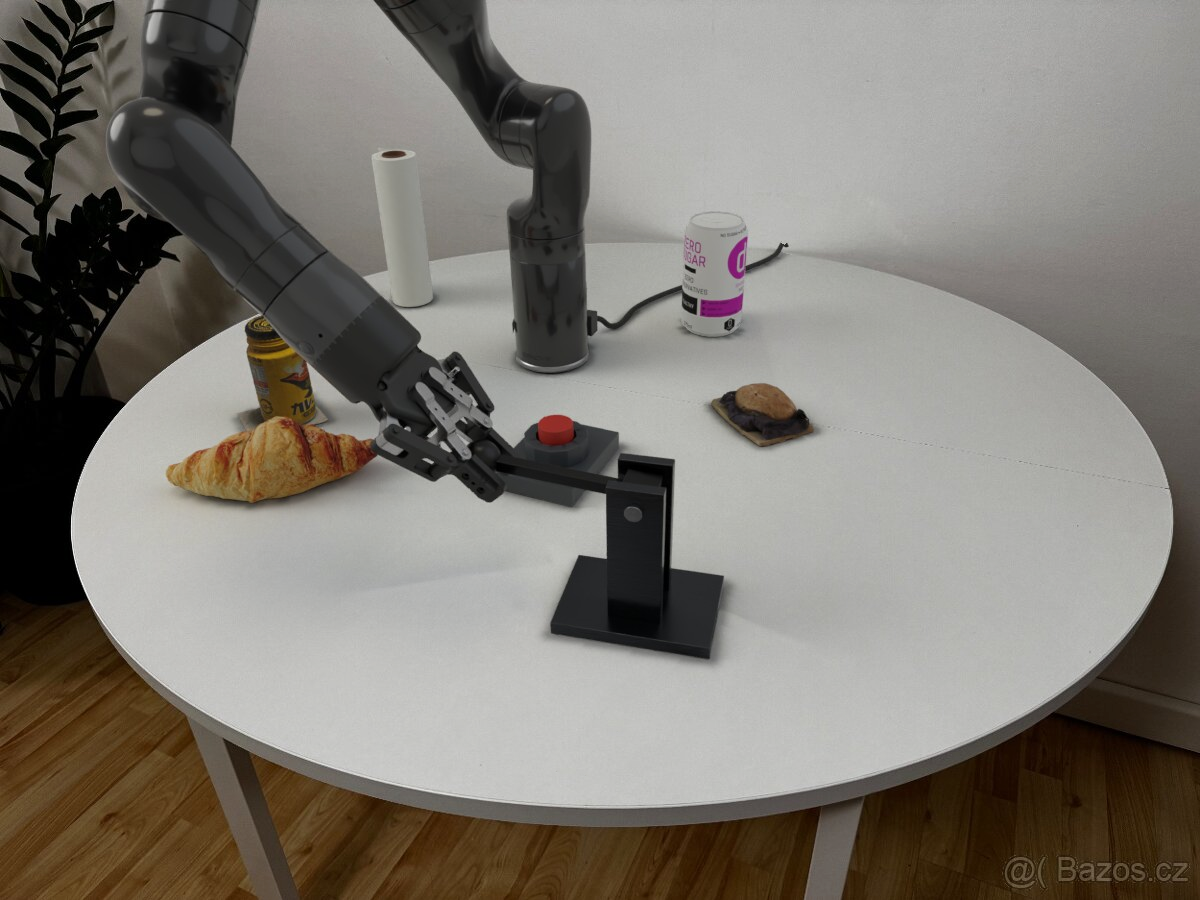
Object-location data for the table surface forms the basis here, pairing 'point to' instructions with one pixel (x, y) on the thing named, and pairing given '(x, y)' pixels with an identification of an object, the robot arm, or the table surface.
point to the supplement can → (713, 273)
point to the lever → (554, 470)
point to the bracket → (640, 575)
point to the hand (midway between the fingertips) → (506, 481)
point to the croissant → (271, 462)
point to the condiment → (277, 379)
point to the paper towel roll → (403, 226)
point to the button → (555, 430)
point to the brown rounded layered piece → (762, 414)
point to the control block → (562, 461)
